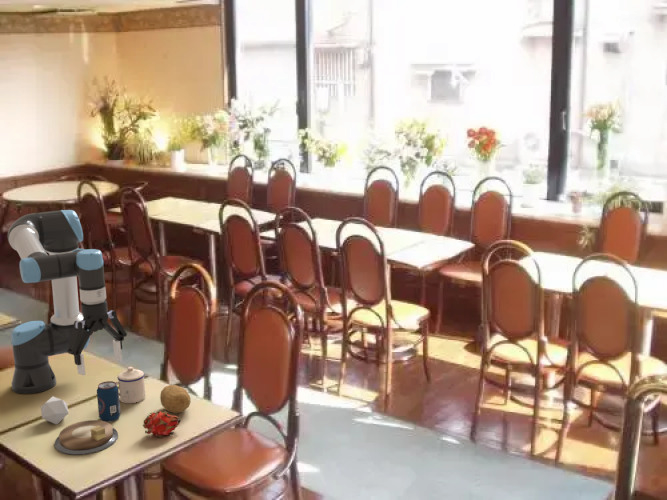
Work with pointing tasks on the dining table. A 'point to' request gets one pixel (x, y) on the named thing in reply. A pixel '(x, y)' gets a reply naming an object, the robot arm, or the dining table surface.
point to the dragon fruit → (161, 423)
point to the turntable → (85, 435)
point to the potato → (175, 398)
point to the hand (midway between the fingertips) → (100, 367)
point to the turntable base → (86, 451)
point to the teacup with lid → (131, 385)
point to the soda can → (108, 401)
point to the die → (54, 410)
